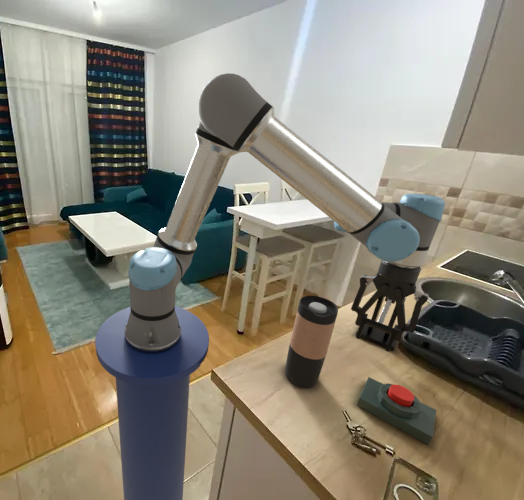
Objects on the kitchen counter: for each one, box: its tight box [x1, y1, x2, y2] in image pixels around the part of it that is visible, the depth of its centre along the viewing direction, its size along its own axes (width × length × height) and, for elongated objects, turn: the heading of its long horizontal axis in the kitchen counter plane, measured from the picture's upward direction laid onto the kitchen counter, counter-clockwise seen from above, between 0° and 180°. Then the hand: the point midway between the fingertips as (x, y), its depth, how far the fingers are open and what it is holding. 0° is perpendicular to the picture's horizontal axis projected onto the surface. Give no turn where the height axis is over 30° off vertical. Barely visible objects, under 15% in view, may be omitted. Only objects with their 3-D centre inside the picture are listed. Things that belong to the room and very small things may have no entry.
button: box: [388, 384, 415, 407], centre depth 59 cm, size 4×4×2 cm
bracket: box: [355, 296, 407, 352], centre depth 81 cm, size 10×9×15 cm
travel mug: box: [284, 295, 339, 389], centre depth 65 cm, size 8×8×20 cm
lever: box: [364, 297, 396, 334], centre depth 76 cm, size 13×6×2 cm, turn 136°
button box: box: [356, 376, 437, 445], centre depth 60 cm, size 12×8×4 cm, turn 46°
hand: (373, 341), depth 76 cm, fingers closed on lever, 6 cm apart
